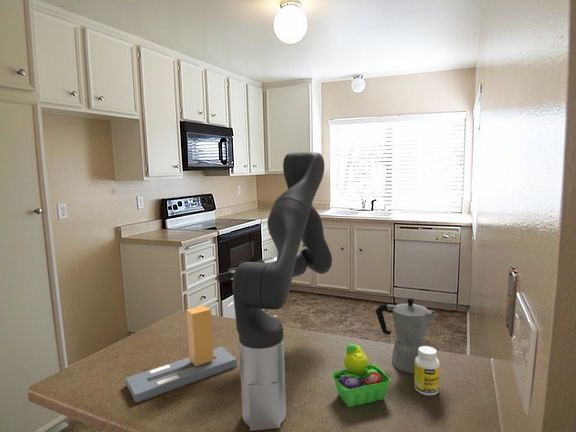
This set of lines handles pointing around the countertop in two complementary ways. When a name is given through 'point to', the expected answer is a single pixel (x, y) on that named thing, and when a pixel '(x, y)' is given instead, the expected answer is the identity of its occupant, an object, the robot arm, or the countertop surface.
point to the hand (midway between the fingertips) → (225, 282)
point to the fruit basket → (360, 379)
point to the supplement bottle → (427, 371)
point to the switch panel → (177, 375)
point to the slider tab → (200, 335)
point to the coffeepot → (406, 331)
